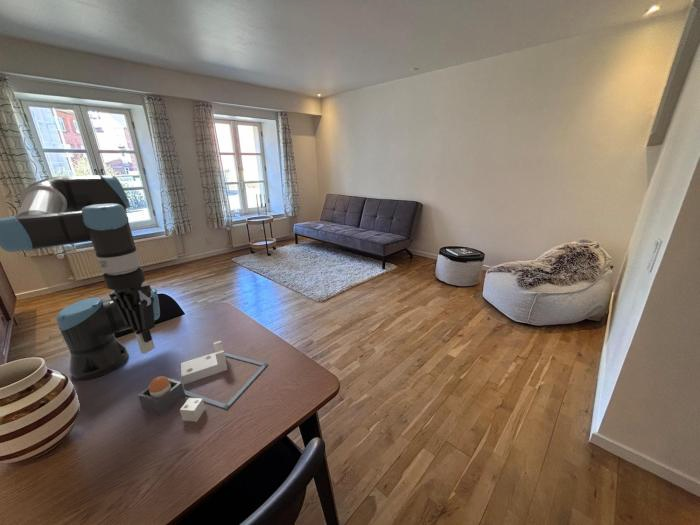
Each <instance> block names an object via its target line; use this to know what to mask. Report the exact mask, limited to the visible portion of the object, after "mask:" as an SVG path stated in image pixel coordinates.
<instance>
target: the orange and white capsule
mask: <svg viewBox="0 0 700 525" xmlns="http://www.w3.org/2000/svg"><path fill="white" fill-rule="evenodd" d="M168 378H169V377H167V378H166V376H164V375H163V376H162V375H160V376H157V377H154V378H153V379H152V380H151V381H150V383H149V385H148V387H149V392H150V395H151V397H153V398H156V399H159V398H160V397H161V396H163V395H164V394H165V393H166V392H168V391H169V390H170V389H171V385H170V381H169V379H168Z"/></svg>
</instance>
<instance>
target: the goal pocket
mask: <svg viewBox="0 0 700 525" xmlns="http://www.w3.org/2000/svg"><path fill="white" fill-rule="evenodd" d="M224 354H225V358H231V359H234V360H238V361H241V362H245V363H249V364H253V365H257V366H259V369H257V371H255V373H254V374H253V375H252V376H251V378H249V379H248V380H247V381H246V382H245V384H243V386H241V388H240V389H239V390H238V391H237V392H236V394H234V396H232V398H230V399H229V401H228V402H227V403H224V402H221V401H218V400H216V399H212V398H209V397H206V396H204V395H200V394H197V393H194V392H191V391H188V390H186V389H184V392H185V397H188V398H201V399H203V402H204V403H206V404H209V405H212V406H215V407H218V408H220V409H223V410H227V411H228V409H229V408H230V407H231V406H232V405H233V404H234V403H235V402H236V400H237V399H238V398H239V397H240V396H241V395H242V394H243V393H244V392H245V390H246V389H247V388H248V387H249V386H250V385H251V384H252V383H253V382H254V381H255V380H256V379H257V377H259V375H260V374H261V373H262V372H263V371H264V370H265V369H266V368H267V367H268V363H265V362H263V361H262V362H261V361H258V360H254V359H252V358H251V359H250V358H246V357H242V356H239V355H235V354H232V353H228V352H224Z"/></svg>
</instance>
